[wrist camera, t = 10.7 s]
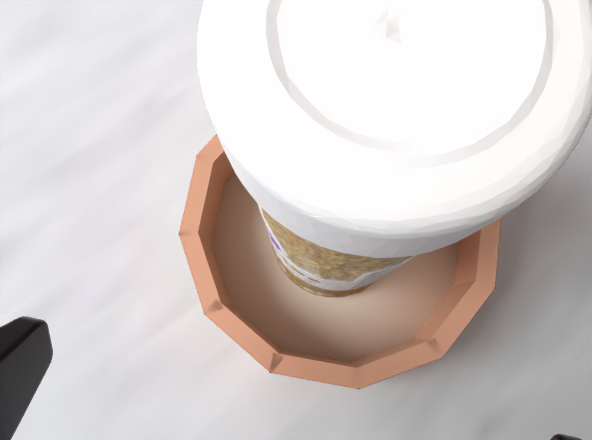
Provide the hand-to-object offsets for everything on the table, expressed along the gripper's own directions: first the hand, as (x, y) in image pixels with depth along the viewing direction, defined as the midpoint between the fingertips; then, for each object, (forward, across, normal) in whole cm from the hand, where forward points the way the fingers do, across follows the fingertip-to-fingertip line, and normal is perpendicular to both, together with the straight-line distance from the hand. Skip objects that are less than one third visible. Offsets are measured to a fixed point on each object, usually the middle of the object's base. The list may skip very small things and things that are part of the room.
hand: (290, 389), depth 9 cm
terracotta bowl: (+10, 0, +4) cm, 11 cm away
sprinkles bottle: (+10, 0, +3) cm, 10 cm away
